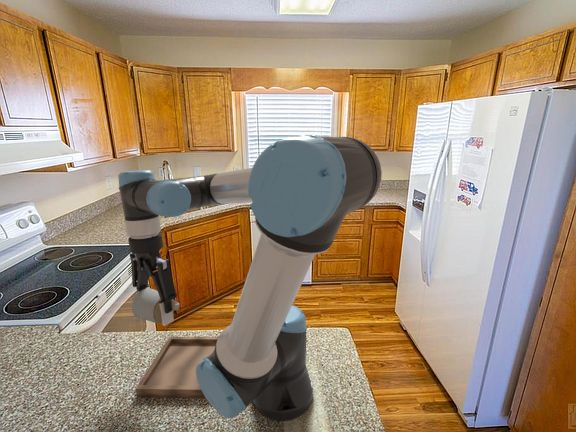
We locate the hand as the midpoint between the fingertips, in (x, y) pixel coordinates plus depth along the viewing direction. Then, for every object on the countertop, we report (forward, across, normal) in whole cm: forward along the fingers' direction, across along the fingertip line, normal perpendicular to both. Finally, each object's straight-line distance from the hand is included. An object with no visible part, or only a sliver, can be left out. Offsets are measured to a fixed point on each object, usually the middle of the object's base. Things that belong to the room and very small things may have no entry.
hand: (157, 317), depth 77 cm
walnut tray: (+17, -4, -5) cm, 18 cm away
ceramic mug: (0, +1, -1) cm, 1 cm away
